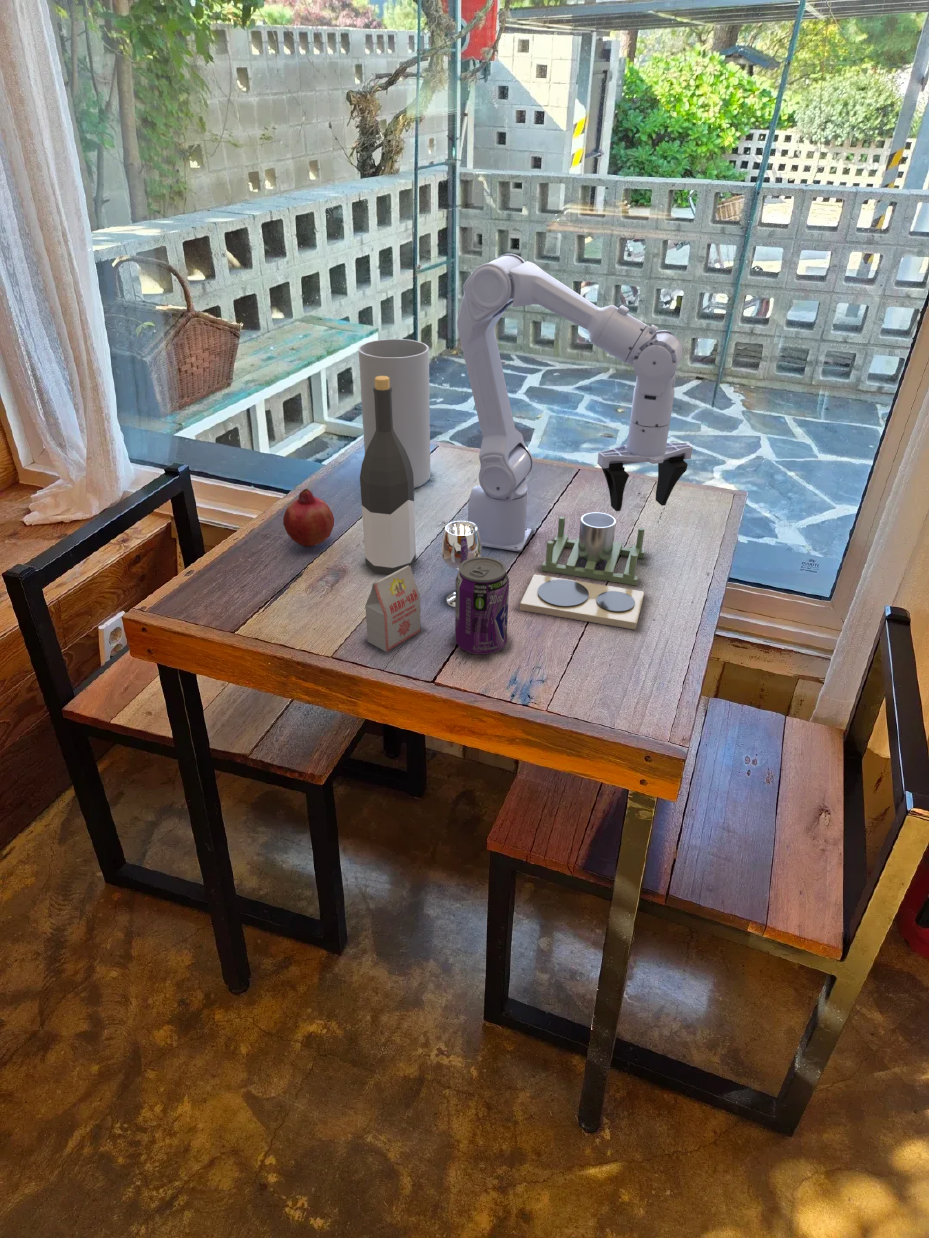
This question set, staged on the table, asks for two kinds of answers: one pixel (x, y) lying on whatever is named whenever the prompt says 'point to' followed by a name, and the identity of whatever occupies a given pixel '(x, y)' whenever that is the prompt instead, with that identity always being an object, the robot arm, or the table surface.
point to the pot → (596, 536)
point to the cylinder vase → (400, 396)
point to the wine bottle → (387, 493)
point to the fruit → (308, 520)
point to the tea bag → (393, 610)
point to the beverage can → (481, 605)
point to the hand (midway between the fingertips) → (638, 505)
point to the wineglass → (460, 546)
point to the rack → (589, 571)
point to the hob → (583, 601)
